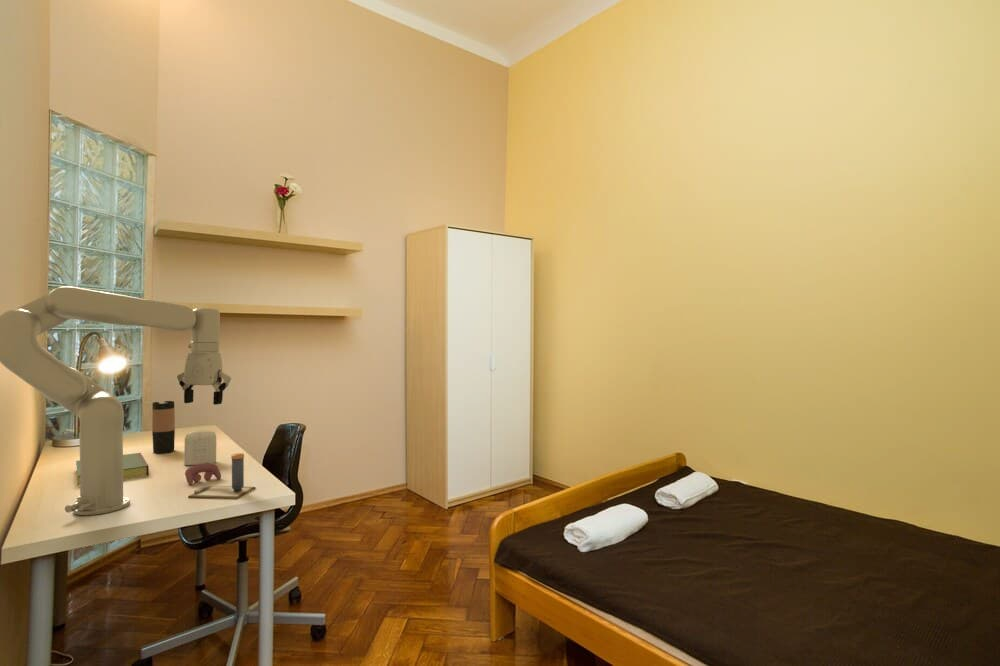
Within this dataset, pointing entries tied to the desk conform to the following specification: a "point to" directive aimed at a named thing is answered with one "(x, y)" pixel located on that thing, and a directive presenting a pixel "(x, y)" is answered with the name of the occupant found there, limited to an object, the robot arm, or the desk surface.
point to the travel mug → (163, 427)
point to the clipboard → (219, 492)
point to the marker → (237, 471)
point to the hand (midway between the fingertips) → (203, 403)
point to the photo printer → (200, 447)
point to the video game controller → (202, 467)
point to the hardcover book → (128, 466)
